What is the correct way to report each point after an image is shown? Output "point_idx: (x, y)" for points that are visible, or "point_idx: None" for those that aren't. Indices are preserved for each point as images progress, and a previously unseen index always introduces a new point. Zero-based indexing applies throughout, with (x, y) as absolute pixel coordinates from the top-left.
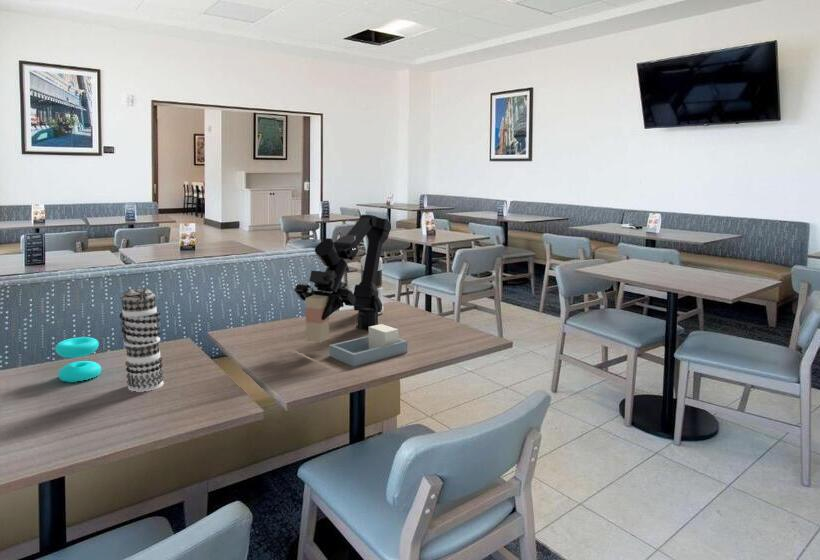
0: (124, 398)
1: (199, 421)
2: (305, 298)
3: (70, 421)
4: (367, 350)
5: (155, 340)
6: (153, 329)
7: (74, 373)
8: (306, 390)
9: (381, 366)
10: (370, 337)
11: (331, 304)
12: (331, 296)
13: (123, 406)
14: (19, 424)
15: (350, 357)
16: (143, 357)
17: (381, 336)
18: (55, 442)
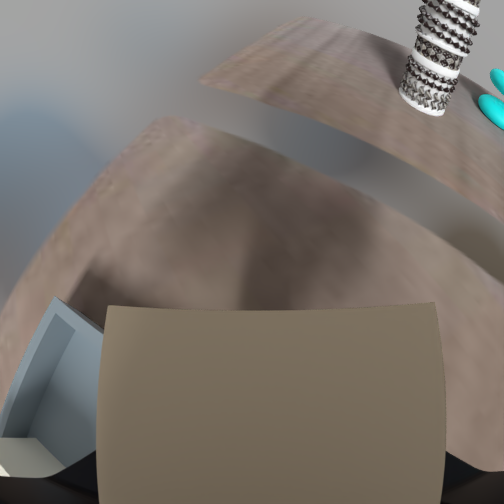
0: (395, 75)
1: (251, 56)
2: (428, 303)
3: (371, 46)
4: (29, 355)
5: (424, 33)
6: (422, 12)
7: (483, 94)
8: (149, 150)
9: None
10: None
11: (72, 467)
12: (6, 493)
13: (370, 63)
14: (396, 45)
15: (73, 309)
16: (414, 46)
17: (7, 453)
18: (335, 31)
